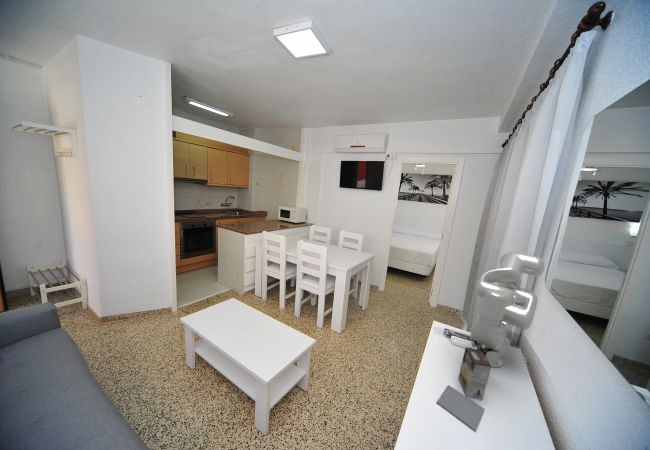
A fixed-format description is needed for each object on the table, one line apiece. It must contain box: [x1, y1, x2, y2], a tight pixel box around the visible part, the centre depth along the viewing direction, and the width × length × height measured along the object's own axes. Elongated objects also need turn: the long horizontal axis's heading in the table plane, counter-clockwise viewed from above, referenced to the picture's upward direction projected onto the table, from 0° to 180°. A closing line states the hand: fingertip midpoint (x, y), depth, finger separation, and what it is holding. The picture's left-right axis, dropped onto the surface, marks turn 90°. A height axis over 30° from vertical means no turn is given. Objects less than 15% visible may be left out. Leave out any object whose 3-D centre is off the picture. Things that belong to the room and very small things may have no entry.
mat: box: [436, 384, 485, 433], centre depth 85 cm, size 12×13×1 cm
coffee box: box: [457, 346, 493, 401], centre depth 92 cm, size 9×6×16 cm
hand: (480, 357), depth 96 cm, fingers closed
